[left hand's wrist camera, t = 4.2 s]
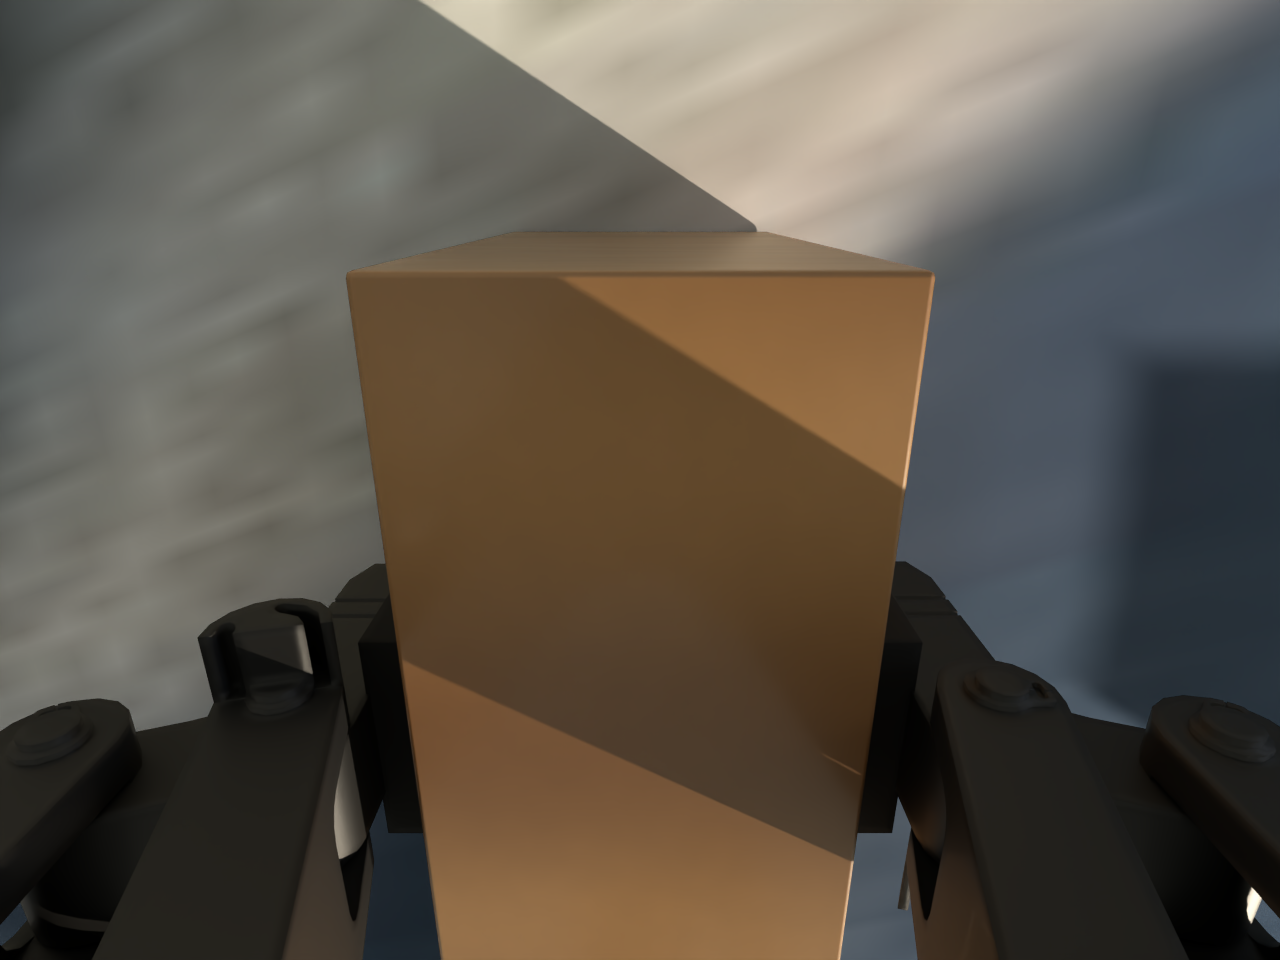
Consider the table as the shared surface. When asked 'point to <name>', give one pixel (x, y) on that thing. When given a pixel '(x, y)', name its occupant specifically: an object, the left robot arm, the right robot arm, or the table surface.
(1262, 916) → the table surface
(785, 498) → the beam
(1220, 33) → the table surface
